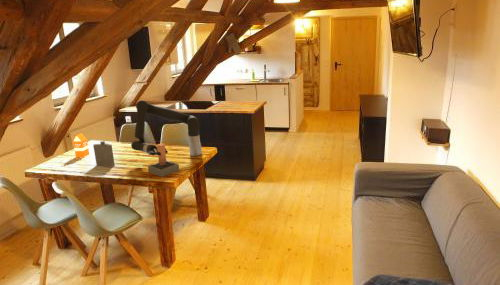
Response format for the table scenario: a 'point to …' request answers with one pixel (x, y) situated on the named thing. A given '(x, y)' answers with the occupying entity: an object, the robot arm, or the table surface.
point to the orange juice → (80, 146)
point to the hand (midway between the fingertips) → (163, 153)
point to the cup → (163, 154)
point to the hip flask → (104, 154)
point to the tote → (163, 168)
